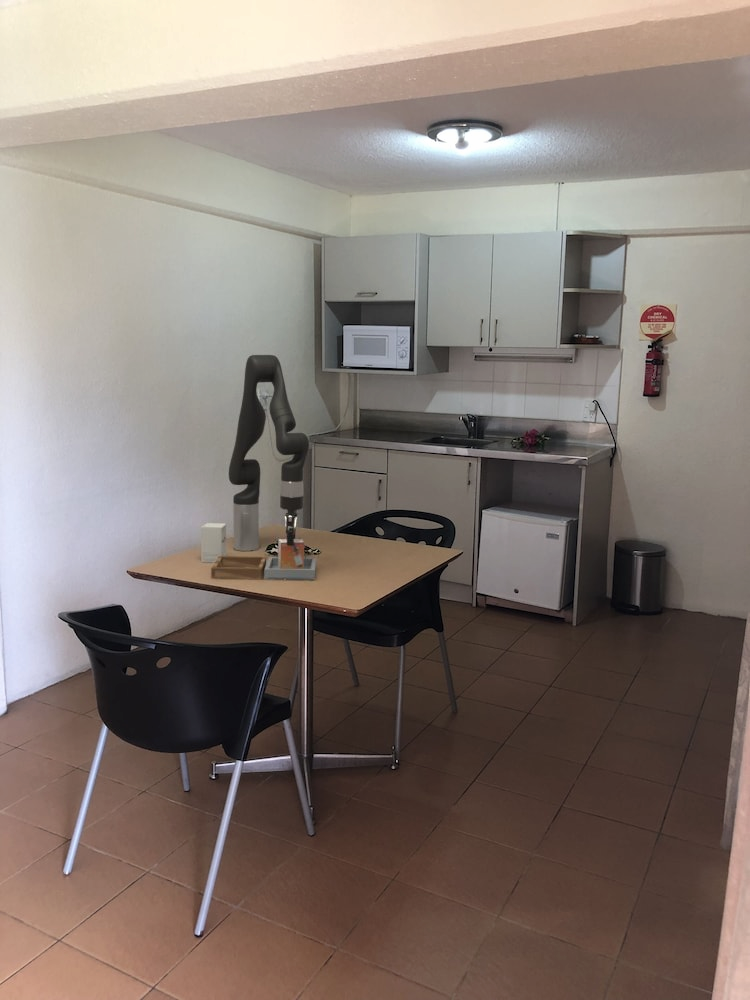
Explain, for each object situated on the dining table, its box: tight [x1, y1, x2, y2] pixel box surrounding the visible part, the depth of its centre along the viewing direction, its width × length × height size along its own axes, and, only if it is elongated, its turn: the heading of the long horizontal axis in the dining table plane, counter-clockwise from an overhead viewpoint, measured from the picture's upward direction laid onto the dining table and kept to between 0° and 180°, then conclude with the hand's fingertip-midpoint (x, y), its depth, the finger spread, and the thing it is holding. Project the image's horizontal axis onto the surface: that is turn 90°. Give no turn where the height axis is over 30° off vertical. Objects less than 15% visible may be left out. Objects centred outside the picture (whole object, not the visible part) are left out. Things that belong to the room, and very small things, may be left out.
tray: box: [263, 556, 317, 581], centre depth 274 cm, size 16×16×4 cm
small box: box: [277, 538, 305, 569], centre depth 274 cm, size 8×6×10 cm
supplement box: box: [200, 522, 227, 564], centre depth 288 cm, size 7×7×13 cm
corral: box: [210, 555, 267, 581], centre depth 274 cm, size 16×16×4 cm
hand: (291, 542), depth 273 cm, fingers open, 8 cm apart
